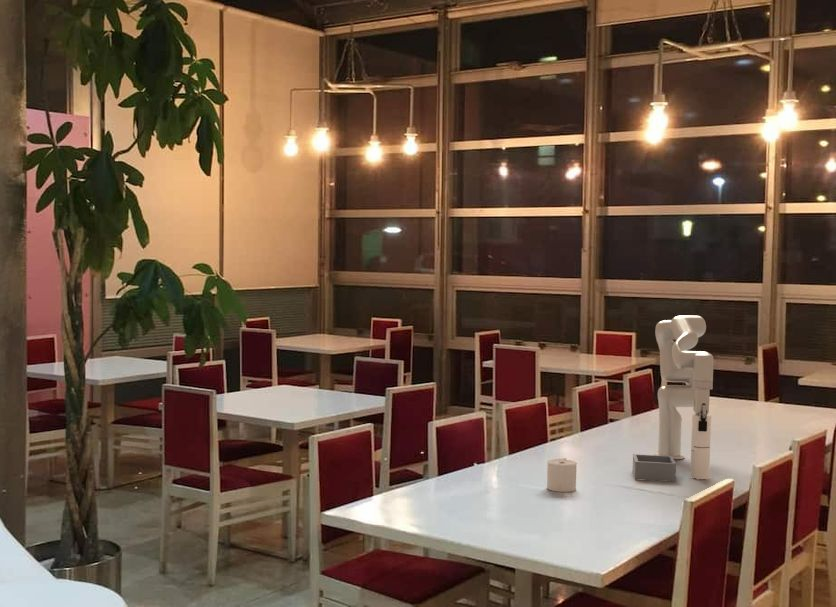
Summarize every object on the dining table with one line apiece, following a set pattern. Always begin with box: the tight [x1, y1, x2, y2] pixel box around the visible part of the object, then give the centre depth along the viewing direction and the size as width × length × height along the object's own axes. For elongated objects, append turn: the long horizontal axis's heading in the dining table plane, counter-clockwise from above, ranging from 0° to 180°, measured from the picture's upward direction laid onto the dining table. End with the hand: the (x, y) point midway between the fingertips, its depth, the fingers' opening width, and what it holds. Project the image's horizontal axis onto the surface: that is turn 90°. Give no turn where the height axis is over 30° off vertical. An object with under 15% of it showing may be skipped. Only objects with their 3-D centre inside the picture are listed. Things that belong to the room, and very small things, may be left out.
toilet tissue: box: [546, 457, 578, 493], centre depth 353 cm, size 11×12×10 cm
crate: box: [632, 453, 677, 482], centre depth 377 cm, size 15×15×7 cm
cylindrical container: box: [689, 413, 712, 480], centre depth 376 cm, size 7×7×25 cm
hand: (701, 429), depth 375 cm, fingers closed on cylindrical container, 7 cm apart
